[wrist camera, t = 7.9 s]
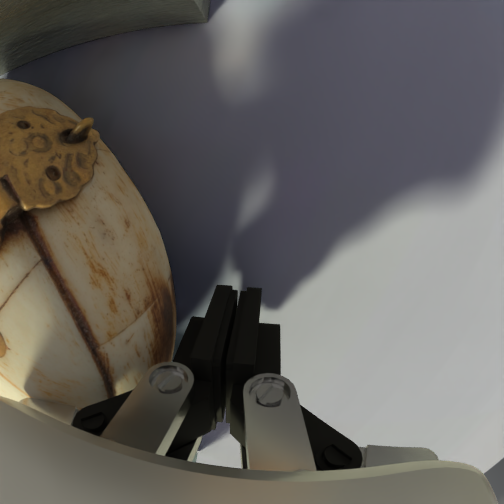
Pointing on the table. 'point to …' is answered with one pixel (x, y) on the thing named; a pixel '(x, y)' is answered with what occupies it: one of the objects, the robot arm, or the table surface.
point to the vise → (82, 23)
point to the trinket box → (74, 260)
